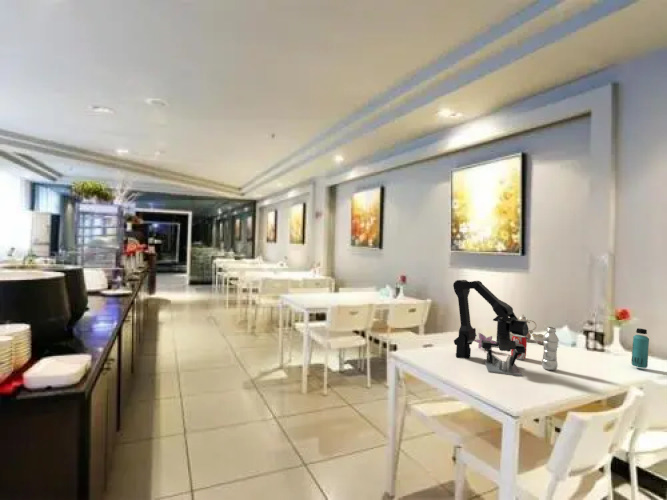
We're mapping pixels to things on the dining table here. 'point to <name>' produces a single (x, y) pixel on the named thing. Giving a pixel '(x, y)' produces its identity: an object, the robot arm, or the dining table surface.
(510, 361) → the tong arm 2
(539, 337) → the chinaware
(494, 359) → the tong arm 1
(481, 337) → the lily
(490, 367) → the slate rest
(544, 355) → the plastic bottle
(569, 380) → the dining table surface
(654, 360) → the dining table surface
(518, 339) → the soda can
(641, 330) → the beverage bottle
